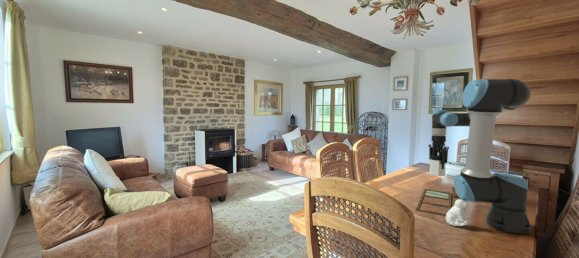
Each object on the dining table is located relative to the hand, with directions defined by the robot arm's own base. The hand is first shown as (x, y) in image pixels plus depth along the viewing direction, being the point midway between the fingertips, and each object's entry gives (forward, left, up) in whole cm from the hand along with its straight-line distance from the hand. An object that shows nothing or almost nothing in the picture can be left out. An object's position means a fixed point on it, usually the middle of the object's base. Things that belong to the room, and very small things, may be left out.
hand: (437, 173), depth 155 cm
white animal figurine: (-46, +2, -14) cm, 48 cm away
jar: (0, 0, -1) cm, 1 cm away
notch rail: (-14, +4, -14) cm, 20 cm away
